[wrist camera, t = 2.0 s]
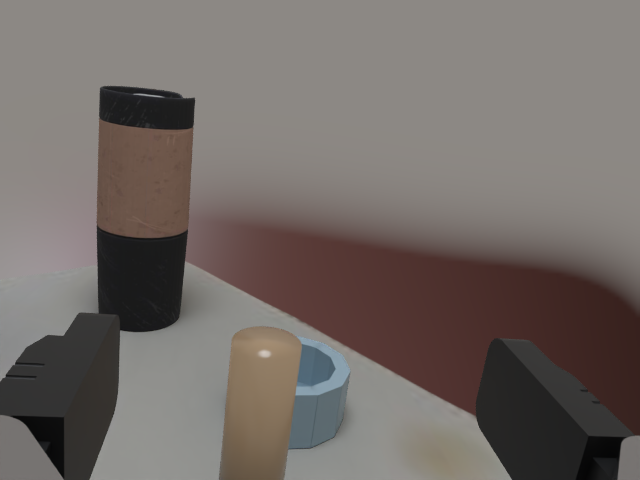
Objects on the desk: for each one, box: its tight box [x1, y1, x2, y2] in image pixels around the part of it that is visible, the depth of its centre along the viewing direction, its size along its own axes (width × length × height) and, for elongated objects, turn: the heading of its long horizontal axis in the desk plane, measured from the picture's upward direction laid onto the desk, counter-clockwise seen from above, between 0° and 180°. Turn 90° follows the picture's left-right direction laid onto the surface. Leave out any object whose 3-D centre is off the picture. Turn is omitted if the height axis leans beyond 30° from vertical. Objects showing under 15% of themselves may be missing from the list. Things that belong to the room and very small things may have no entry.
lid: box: [219, 327, 302, 480], centre depth 26 cm, size 8×8×12 cm
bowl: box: [288, 336, 350, 449], centre depth 40 cm, size 8×8×4 cm
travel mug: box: [97, 86, 195, 331], centre depth 50 cm, size 8×8×20 cm
